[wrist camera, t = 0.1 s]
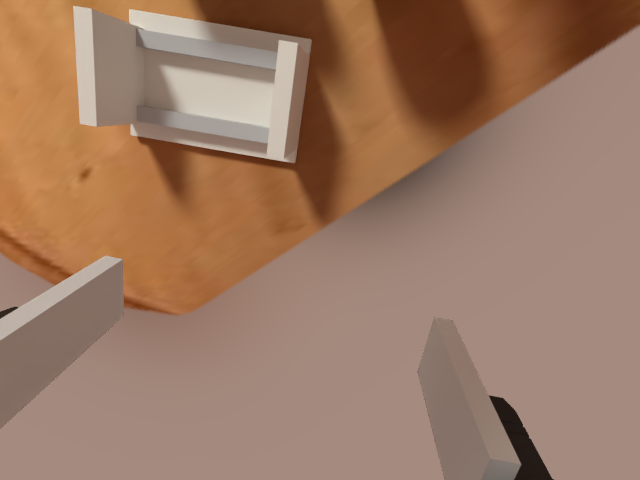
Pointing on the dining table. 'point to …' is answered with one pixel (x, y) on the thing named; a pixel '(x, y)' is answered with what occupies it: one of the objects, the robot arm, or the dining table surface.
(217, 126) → the track frame
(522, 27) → the dining table surface
